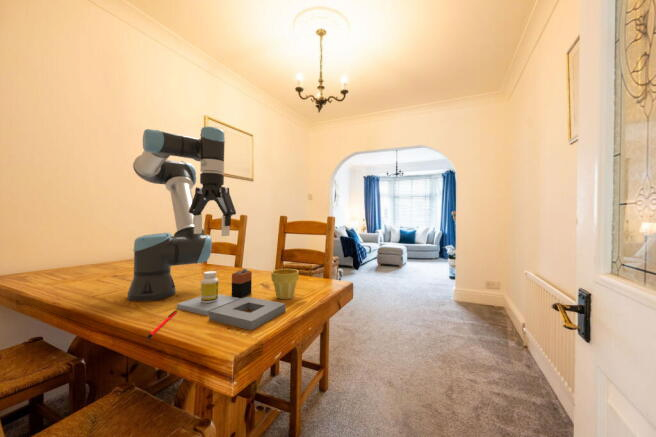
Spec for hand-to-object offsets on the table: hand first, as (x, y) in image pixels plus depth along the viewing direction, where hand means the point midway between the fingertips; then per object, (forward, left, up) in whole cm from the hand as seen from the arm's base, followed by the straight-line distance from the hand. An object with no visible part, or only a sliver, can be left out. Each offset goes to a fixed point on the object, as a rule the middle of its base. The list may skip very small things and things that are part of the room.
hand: (211, 234), depth 92 cm
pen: (+2, -18, -24) cm, 31 cm away
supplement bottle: (+1, -1, -23) cm, 23 cm away
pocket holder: (+19, -2, -24) cm, 31 cm away
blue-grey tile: (+1, -1, -24) cm, 24 cm away
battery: (+3, +12, -24) cm, 27 cm away
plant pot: (+18, +19, -24) cm, 36 cm away
